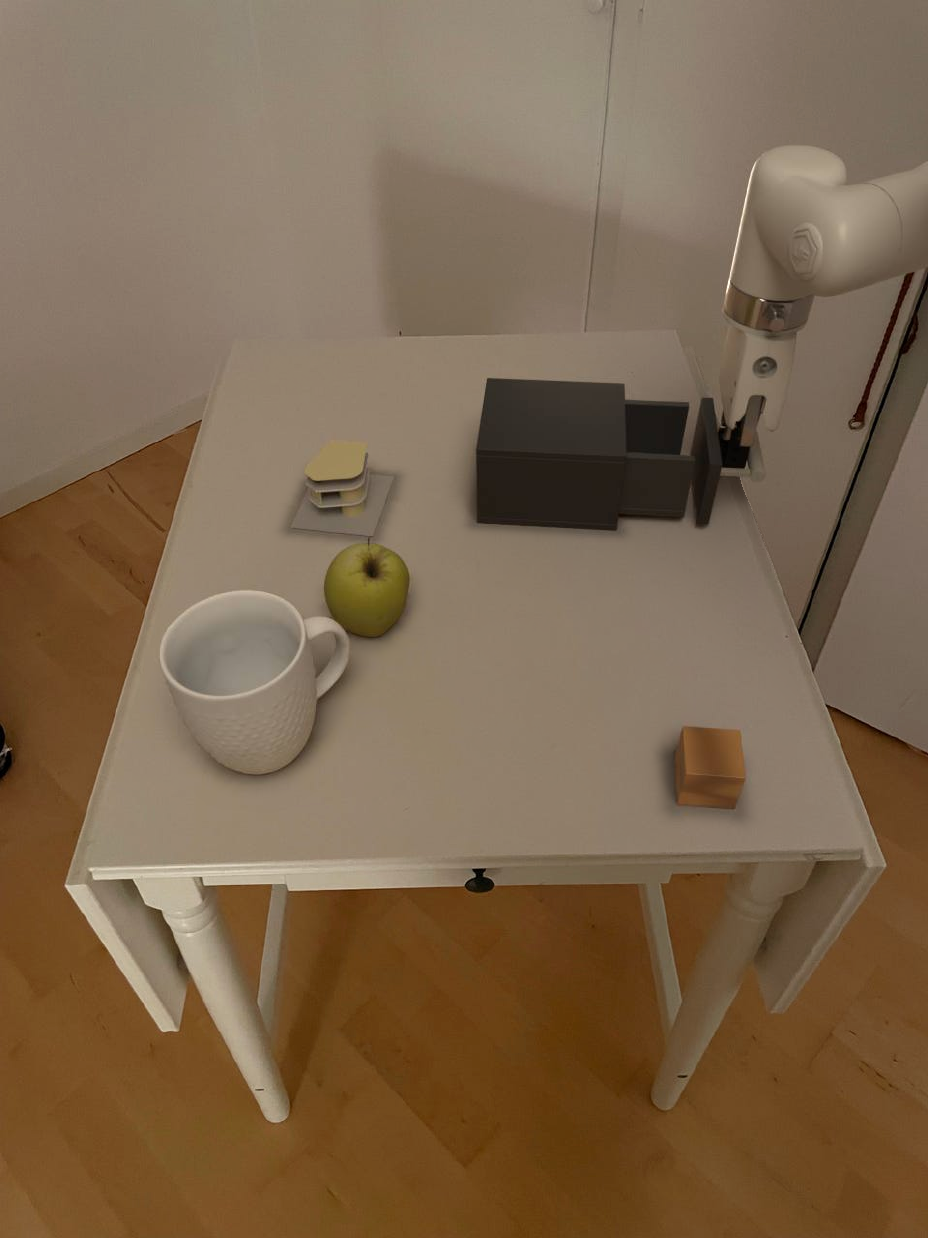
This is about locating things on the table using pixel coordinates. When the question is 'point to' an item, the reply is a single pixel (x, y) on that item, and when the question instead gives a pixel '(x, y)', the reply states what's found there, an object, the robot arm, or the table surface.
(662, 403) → the drawer
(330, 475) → the stacked layers on plate
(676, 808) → the table surface
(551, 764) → the table surface
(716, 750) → the block
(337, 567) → the apple
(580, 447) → the dark grey box
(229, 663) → the mug
